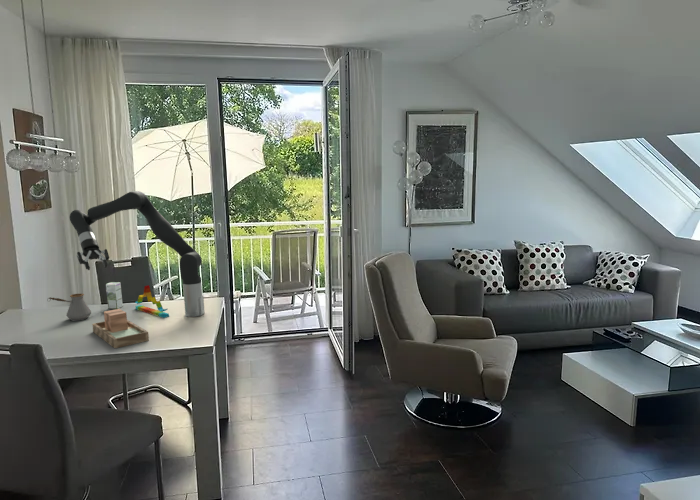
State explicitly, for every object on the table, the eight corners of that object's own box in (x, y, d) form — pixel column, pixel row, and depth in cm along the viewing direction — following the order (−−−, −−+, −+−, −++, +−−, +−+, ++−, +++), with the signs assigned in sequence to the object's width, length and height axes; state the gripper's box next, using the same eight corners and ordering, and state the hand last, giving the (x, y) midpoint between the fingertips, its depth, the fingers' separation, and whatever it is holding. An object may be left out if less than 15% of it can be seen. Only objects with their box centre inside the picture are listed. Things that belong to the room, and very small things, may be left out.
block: (105, 328, 232) (103, 311, 231) (120, 324, 237) (119, 308, 236) (111, 332, 225) (110, 315, 224) (127, 329, 230) (126, 312, 228)
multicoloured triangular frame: (169, 317, 259) (167, 289, 257) (163, 318, 257) (161, 290, 255) (141, 308, 279) (138, 282, 276) (135, 309, 276) (133, 283, 274)
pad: (106, 339, 224) (105, 333, 224) (133, 333, 232) (133, 327, 232) (113, 344, 216) (112, 338, 216) (141, 338, 224) (140, 332, 224)
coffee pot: (81, 314, 267) (78, 287, 264) (96, 316, 262) (93, 289, 260) (43, 326, 247) (40, 296, 245) (59, 328, 243) (55, 298, 241)
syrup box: (123, 306, 282) (120, 281, 280) (117, 309, 277) (115, 284, 274) (113, 306, 283) (111, 281, 281) (107, 309, 277) (105, 284, 275)
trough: (93, 331, 235) (92, 323, 235) (124, 325, 245) (123, 317, 244) (114, 348, 211) (113, 339, 210) (148, 340, 221) (148, 331, 220)
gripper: (73, 239, 243) (82, 265, 236) (104, 236, 253) (114, 261, 246) (72, 248, 248) (80, 274, 241) (102, 245, 257) (111, 270, 250)
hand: (97, 268), depth 243 cm, fingers open, 7 cm apart
